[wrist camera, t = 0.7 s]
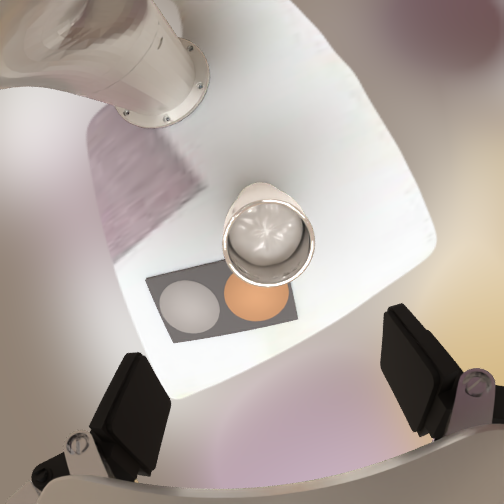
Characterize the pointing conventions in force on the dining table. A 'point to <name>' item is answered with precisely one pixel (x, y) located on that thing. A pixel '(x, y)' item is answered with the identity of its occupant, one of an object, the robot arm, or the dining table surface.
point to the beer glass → (267, 237)
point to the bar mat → (217, 302)
